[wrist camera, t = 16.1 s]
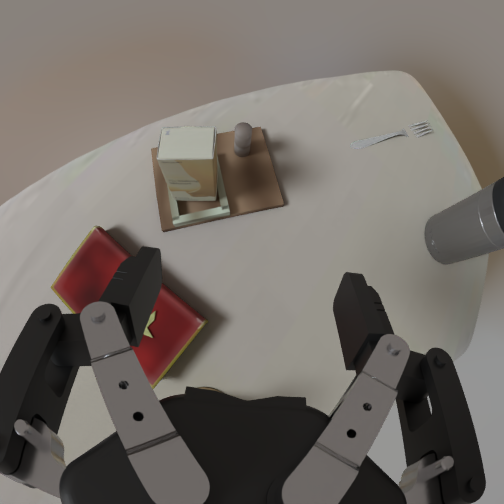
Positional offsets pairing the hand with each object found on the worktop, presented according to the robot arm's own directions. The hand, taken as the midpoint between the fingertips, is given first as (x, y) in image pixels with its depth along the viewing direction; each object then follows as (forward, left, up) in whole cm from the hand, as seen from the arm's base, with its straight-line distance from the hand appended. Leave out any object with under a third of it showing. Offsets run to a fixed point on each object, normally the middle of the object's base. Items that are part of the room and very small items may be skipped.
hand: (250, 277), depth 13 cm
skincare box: (+2, -16, -26) cm, 31 cm away
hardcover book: (+16, -2, -29) cm, 33 cm away
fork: (-34, -22, -29) cm, 50 cm away
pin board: (-1, -19, -29) cm, 34 cm away
